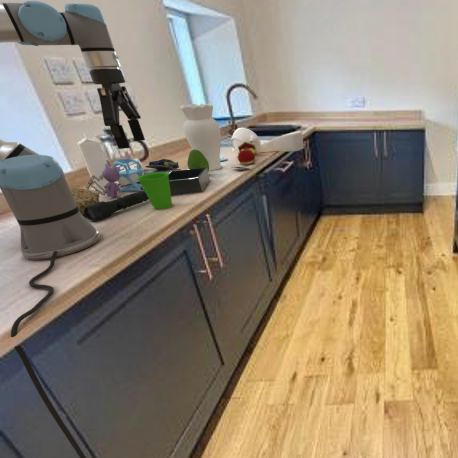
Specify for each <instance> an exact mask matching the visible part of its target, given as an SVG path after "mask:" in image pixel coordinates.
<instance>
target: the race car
mask: <svg viewBox="0 0 458 458" xmlns="http://www.w3.org/2000/svg"><path fill="white" fill-rule="evenodd" d="M144 168H146V169H180V165H179V162H178V161H176V162H175V161H174V160H172V159H169V158H168V159H167V158H161V159H159V160H152V161H149V162H148V165H145V166H144Z"/></svg>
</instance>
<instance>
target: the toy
mask: <svg viewBox="0 0 458 458" xmlns="http://www.w3.org/2000/svg"><path fill="white" fill-rule="evenodd" d="M224 161H228V159H227V158H225V157H220V162H224Z"/></svg>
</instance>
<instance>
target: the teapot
mask: <svg viewBox="0 0 458 458" xmlns="http://www.w3.org/2000/svg"><path fill="white" fill-rule="evenodd" d="M260 140H261V139H260V138H259V136H258V134H256V133H255V132H254V131H253V130H252V129H249V128H246V127H238V128H236V130H234V132H233V134H232V136H231V138H230V144H231V146H232V149H231V151H232V152H234V153H235V152H236V153H238V152H239V150H238V147H237V146H239V145H240V144H241V143H243V142H244V141H247V142H250V143H253V144H255V146H256V150H257V154H259V153H260V152H259V151H260V150H261V143H260ZM258 152H259V153H258Z"/></svg>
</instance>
